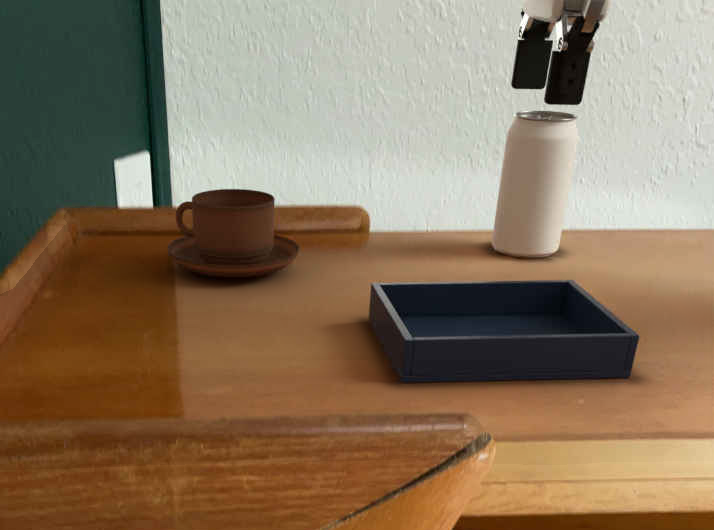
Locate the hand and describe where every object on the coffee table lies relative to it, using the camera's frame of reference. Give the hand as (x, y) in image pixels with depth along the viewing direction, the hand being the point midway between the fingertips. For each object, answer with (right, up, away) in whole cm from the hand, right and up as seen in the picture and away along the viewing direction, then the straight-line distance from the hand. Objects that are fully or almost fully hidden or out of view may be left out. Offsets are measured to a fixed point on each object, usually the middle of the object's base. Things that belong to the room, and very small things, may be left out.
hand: (544, 96), depth 87 cm
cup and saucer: (-28, -15, +2) cm, 32 cm away
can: (0, -11, +8) cm, 14 cm away
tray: (-9, -27, -15) cm, 32 cm away
